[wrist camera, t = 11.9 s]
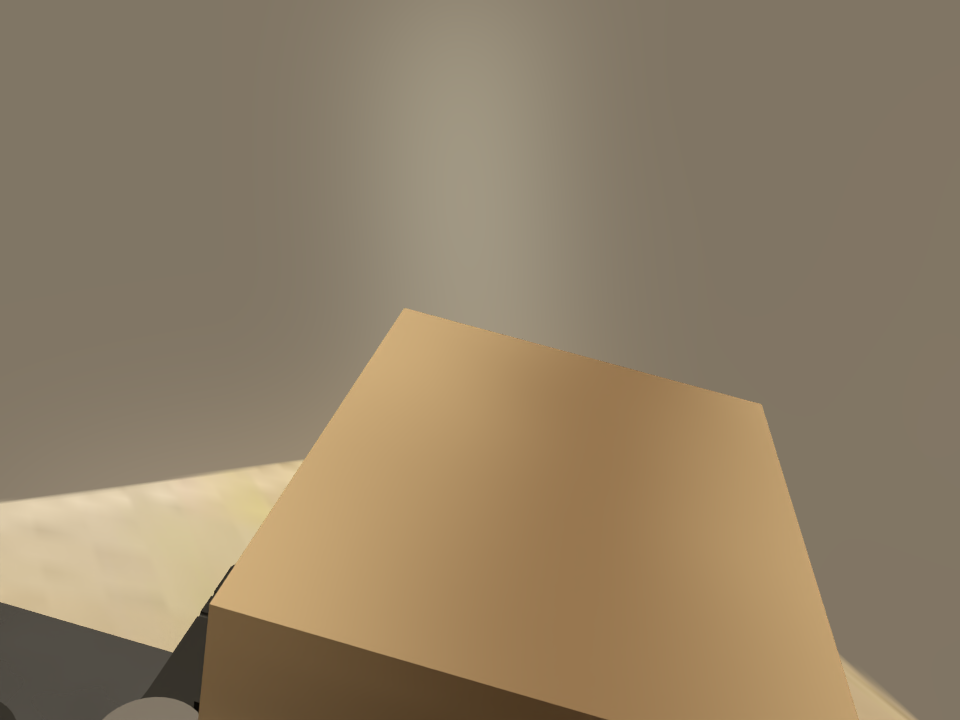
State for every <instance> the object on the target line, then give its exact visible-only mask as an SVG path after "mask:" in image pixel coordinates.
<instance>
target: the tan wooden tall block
mask: <svg viewBox="0 0 960 720" xmlns="http://www.w3.org/2000/svg"><path fill="white" fill-rule="evenodd" d="M198 720H859V719H858V715H857V712H856V709H855V706H854V702H853V699H852V696H851V693H850V690H849V686H848V683H847V680H846V677H845V673H844V670H843V667H842V664H841V660H840V657H839V654H838V651H837V648H836V644H835V641H834V638H833V634H832V631H831V628H830V625H829V622H828V618H827V615H826V612H825V608H824V606H823V602H822V599H821V596H820V592H819V589H818V586H817V583H816V579H815V576H814V573H813V570H812V567H811V563H810V560H809V557H808V553H807V550H806V547H805V544H804V540H803V537H802V534H801V531H800V528H799V525H798V521H797V518H796V514H795V511H794V508H793V505H792V501H791V498H790V495H789V492H788V489H787V485H786V482H785V479H784V476H783V472H782V469H781V466H780V463H779V459H778V456H777V453H776V450H775V447H774V443H773V440H772V437H771V433H770V430H769V427H768V424H767V421H766V418H765V414H764V411H763V408H762V405H761V404H758V403H754V402H751V401H747V400H744V399H740V398H736V397H733V396H729V395H725V394H721V393H718V392H714V391H710V390H707V389H703V388H699V387H696V386H691V385H688V384H684V383H681V382H677V381H673V380H670V379H666V378H662V377H658V376H655V375H651V374H647V373H644V372H640V371H636V370H632V369H629V368H625V367H621V366H618V365H614V364H610V363H607V362H602V361H599V360H595V359H592V358H588V357H584V356H581V355H577V354H573V353H569V352H566V351H562V350H558V349H555V348H551V347H547V346H544V345H540V344H536V343H532V342H529V341H525V340H521V339H518V338H514V337H510V336H506V335H503V334H499V333H495V332H492V331H488V330H484V329H481V328H477V327H473V326H469V325H466V324H462V323H458V322H454V321H451V320H447V319H443V318H440V317H436V316H432V315H428V314H425V313H421V312H418V311H414V310H410V309H406V308H404V310H403V311H402V312H401V314H400V315H399V317H398V319H397V320H396V322H395V323H394V324H393V326H392V328H391V329H390V331H389V332H388V334H387V335H386V337H385V338H384V340H383V341H382V343H381V344H380V346H379V347H378V349H377V350H376V352H375V353H374V355H373V356H372V358H371V359H370V361H369V362H368V364H367V366H366V367H365V369H364V370H363V372H362V373H361V375H360V376H359V378H358V379H357V381H356V382H355V384H354V385H353V387H352V388H351V390H350V391H349V393H348V394H347V396H346V398H345V399H344V401H343V402H342V403H341V405H340V406H339V408H338V410H337V411H336V413H335V414H334V416H333V417H332V419H331V420H330V422H329V423H328V425H327V426H326V428H325V429H324V431H323V432H322V434H321V435H320V437H319V438H318V440H317V441H316V443H315V445H314V446H313V448H312V449H311V451H310V452H309V454H308V455H307V457H306V458H305V460H304V461H303V463H302V464H301V466H300V467H299V469H298V470H297V472H296V473H295V475H294V476H293V478H292V479H291V481H290V482H289V484H288V485H287V487H286V488H285V490H284V491H283V493H282V495H281V496H280V498H279V499H278V501H277V502H276V504H275V505H274V507H273V508H272V510H271V511H270V513H269V514H268V516H267V517H266V519H265V520H264V522H263V523H262V525H261V526H260V528H259V529H258V531H257V532H256V534H255V536H254V537H253V539H252V540H251V542H250V543H249V545H248V546H247V548H246V549H245V551H244V552H243V554H242V555H241V557H240V558H239V560H238V561H237V563H236V564H235V566H234V567H233V569H232V570H231V572H230V573H229V575H228V577H227V578H226V580H225V581H224V583H223V584H222V586H221V587H220V589H219V590H218V592H217V593H216V595H215V596H214V598H213V599H212V601H211V602H210V604H209V613H208V623H207V634H206V644H205V654H204V665H203V675H202V685H201V695H200V706H199V716H198Z"/></svg>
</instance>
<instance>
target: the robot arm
mask: <svg viewBox="0 0 960 720" xmlns="http://www.w3.org/2000/svg"><path fill="white" fill-rule="evenodd" d="M234 566H235V565H233V566H232V567H231V568H230V569H229V571H228V572H227V573H226V575H225V576H224V578H223V579H222V581H221V582H220V584H219V585H218V587H217V588H216V590H215V591H214V595H213V596H211V597H210V599H209V600H208V602H207V603H206V605H205V606H204V607H203V609H202V610H201V613H200V616H199V617H198V616H197V618H196V619H195V621H194V622H193V624H192V625H191V627H190V628H189V630H188V631H187V633H186V634H185V636H184V637H183V639H182V640H181V641H180V643H179V644H178V646H177V647H176V649H175V650H174V652H173V653H172V655H171V656H170V658H169V659H168V661H167V662H166V664H165V665H164V667H163V668H162V670H161V671H160V673H159V674H158V675H157V677H156V678H155V680H154V681H153V683H152V684H151V686H150V687H149V689H148V690H147V691H146V693H145V694H144V695H143V697H142V698H141V699H138V700H135V701H132V702H129V703H126V704H124V705H122V706H120V707H118V708H117V709H115V710H114V711H112V712H111V713H109V714H108V715H107V716H106V717H105V718H104V719H103V720H198V716H199V706H200V695H201V685H202V675H203V665H204V654H205V644H206V634H207V623H208V613H209V604H210V602H211V601H212V599H213V598H214V596H215V595H216V593H217V592H218V590H219V589H220V587H221V586H222V584H223V583H224V581H225V580H226V578H227V577H228V575H229V573H230V572H231V570H232V569H233V567H234ZM0 720H16V719H15V717H14V715H13V713H12V712H11V710H10V709H9V708H8V707H7V706H5V705H4V704H3V703H1V702H0Z"/></svg>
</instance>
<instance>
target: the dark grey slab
mask: <svg viewBox="0 0 960 720" xmlns="http://www.w3.org/2000/svg"><path fill="white" fill-rule="evenodd" d="M171 655H172V652H169V651H165V650H162V649H158V648H155V647H152V646H148V645H145V644H141V643H138V642H135V641H131V640H128V639H124V638H121V637H117V636H114V635H111V634H107V633H104V632H100V631H97V630H93V629H90V628H87V627H83V626H80V625H76V624H73V623H69V622H66V621H63V620H59V619H56V618H52V617H49V616H46V615H42V614H39V613H35V612H32V611H28V610H25V609H22V608H18V607H15V606H11V605H8V604H4V603H1V602H0V702H1V703H3V704H4V705H5V706H7V707H8V708H9V709H10V710H11V712H12V713H13V715H14V717H15V719H16V720H103V719H104V718H105V717H106V716H107V715H108V714H109V713H111V712H112V711H114V710H115V709H117V708H118V707H120V706H122V705H124V704H126V703H129V702H132V701H135V700H138V699H141V698H142V697H143V695H144V694H145V693H146V691H147V690H148V689H149V687H150V686H151V684H152V683H153V681H154V680H155V678H156V677H157V675H158V674H159V673H160V671H161V670H162V668H163V667H164V665H165V664H166V662H167V661H168V659H169V658H170V656H171Z"/></svg>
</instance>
